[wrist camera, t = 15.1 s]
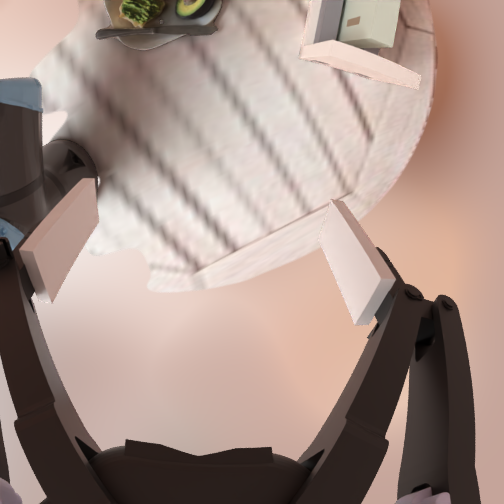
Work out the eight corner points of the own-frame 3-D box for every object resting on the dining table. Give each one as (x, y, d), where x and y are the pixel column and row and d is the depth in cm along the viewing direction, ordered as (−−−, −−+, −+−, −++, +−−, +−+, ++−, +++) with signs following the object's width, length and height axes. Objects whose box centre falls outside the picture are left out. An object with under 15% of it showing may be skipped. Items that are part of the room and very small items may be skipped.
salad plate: (116, 77, 34) (104, 79, 30) (85, -5, 23) (72, -9, 20) (235, 28, 32) (236, 23, 28) (199, -57, 21) (197, -68, 17)
